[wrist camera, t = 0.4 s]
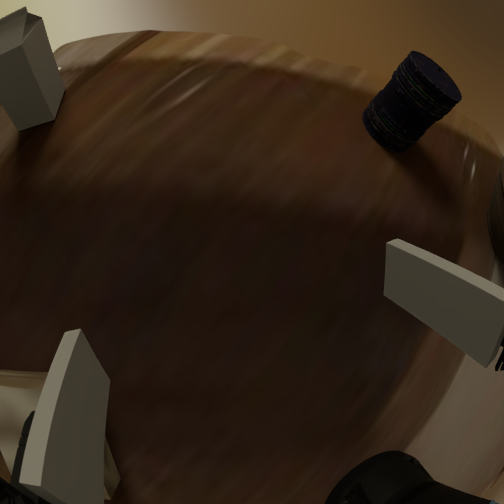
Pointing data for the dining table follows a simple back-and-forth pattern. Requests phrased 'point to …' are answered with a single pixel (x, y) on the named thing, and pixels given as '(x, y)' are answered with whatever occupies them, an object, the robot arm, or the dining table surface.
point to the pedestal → (19, 408)
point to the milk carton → (28, 71)
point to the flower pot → (497, 214)
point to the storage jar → (410, 103)
